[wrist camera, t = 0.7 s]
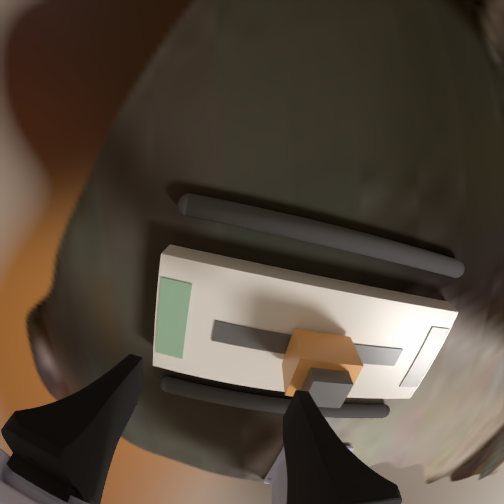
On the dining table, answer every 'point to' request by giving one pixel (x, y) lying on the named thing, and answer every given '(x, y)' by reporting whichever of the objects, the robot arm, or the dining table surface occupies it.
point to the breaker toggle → (321, 366)
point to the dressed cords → (313, 234)
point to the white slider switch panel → (288, 323)
